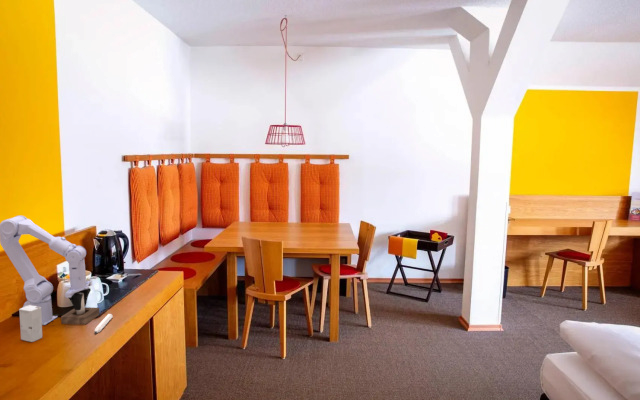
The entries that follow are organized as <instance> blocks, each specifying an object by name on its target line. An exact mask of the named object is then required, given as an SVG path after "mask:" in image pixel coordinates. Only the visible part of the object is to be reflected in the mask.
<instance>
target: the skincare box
mask: <svg viewBox="0 0 640 400" xmlns="http://www.w3.org/2000/svg"><path fill="white" fill-rule="evenodd" d="M18 311H19V326H20V327H19V328H20V340H21V341H26V342H30V343H33V342H36V341H39V340H40V339H43V325H42V318H41V307H37V306H32V305H28V306H25V307H23V306H22V307H21V308H19V310H18Z"/></svg>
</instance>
